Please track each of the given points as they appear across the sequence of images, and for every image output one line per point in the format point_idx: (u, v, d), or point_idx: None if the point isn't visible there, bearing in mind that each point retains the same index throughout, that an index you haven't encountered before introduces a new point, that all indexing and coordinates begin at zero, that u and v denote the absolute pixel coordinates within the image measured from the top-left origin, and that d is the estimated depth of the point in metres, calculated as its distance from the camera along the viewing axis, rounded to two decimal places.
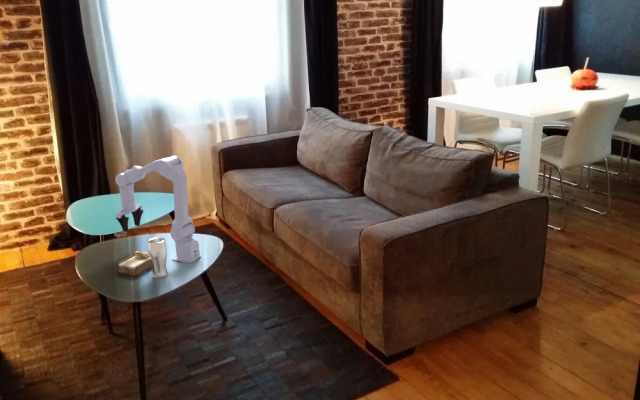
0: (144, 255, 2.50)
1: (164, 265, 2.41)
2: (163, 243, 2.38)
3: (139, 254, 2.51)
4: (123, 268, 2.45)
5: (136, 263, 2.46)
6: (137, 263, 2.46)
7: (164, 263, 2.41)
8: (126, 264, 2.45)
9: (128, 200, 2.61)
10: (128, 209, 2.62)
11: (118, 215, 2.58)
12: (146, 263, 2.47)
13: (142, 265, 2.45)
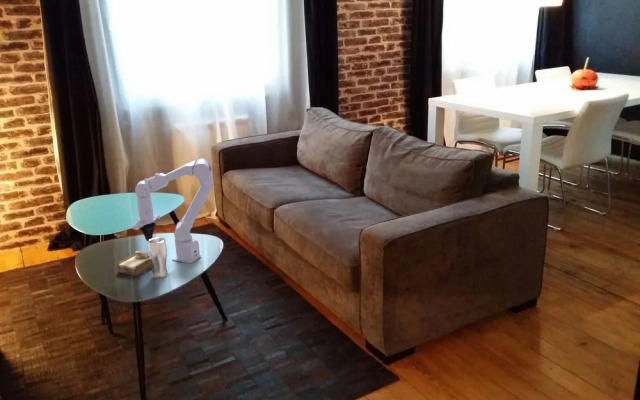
0: (144, 255, 2.50)
1: (164, 265, 2.41)
2: (163, 243, 2.38)
3: (139, 254, 2.51)
4: (123, 268, 2.45)
5: (136, 263, 2.46)
6: (137, 263, 2.46)
7: (164, 263, 2.41)
8: (126, 264, 2.45)
9: (146, 211, 2.48)
10: (146, 220, 2.49)
11: (136, 227, 2.46)
12: (146, 263, 2.47)
13: (142, 265, 2.45)
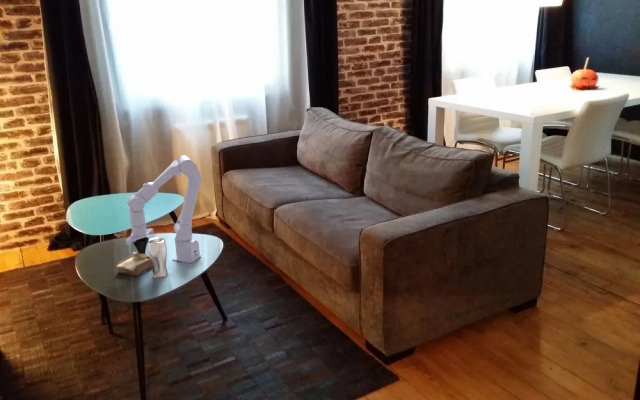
0: (142, 256, 2.49)
1: (164, 265, 2.41)
2: (163, 243, 2.38)
3: (137, 255, 2.50)
4: None
5: (134, 264, 2.45)
6: (135, 264, 2.45)
7: (164, 263, 2.41)
8: (124, 265, 2.44)
9: (139, 225, 2.45)
10: (139, 235, 2.46)
11: (128, 242, 2.43)
12: (146, 263, 2.47)
13: (142, 265, 2.45)
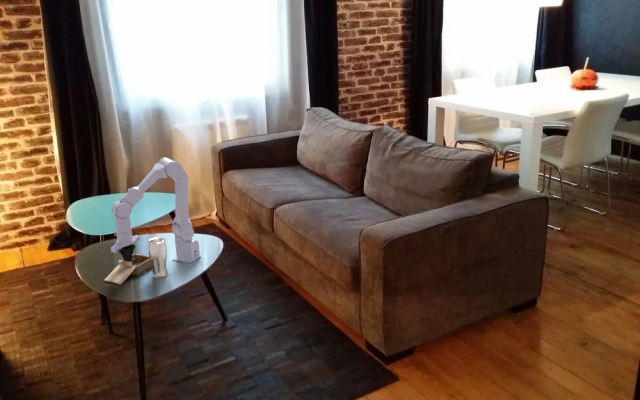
0: (128, 265, 2.42)
1: (164, 265, 2.41)
2: (163, 243, 2.38)
3: (123, 263, 2.43)
4: None
5: (121, 275, 2.39)
6: (122, 276, 2.39)
7: (164, 263, 2.41)
8: (111, 279, 2.38)
9: (124, 232, 2.38)
10: (124, 242, 2.39)
11: (113, 249, 2.35)
12: (146, 263, 2.47)
13: (142, 265, 2.45)
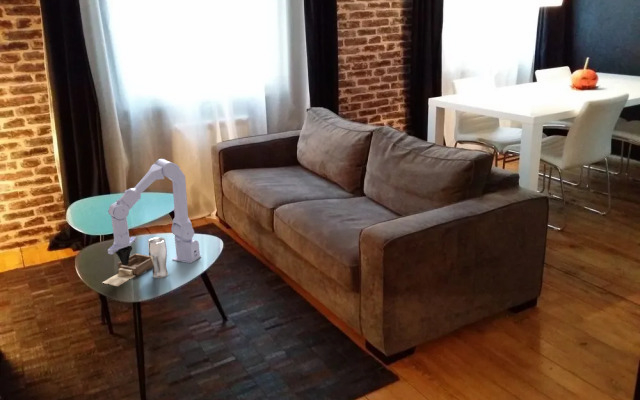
0: (128, 272, 2.42)
1: (164, 265, 2.41)
2: (163, 243, 2.38)
3: (123, 271, 2.43)
4: (123, 268, 2.45)
5: (120, 281, 2.39)
6: (121, 281, 2.38)
7: (164, 263, 2.41)
8: (109, 282, 2.37)
9: (121, 234, 2.36)
10: (121, 244, 2.37)
11: (110, 251, 2.34)
12: (146, 263, 2.47)
13: (142, 265, 2.45)
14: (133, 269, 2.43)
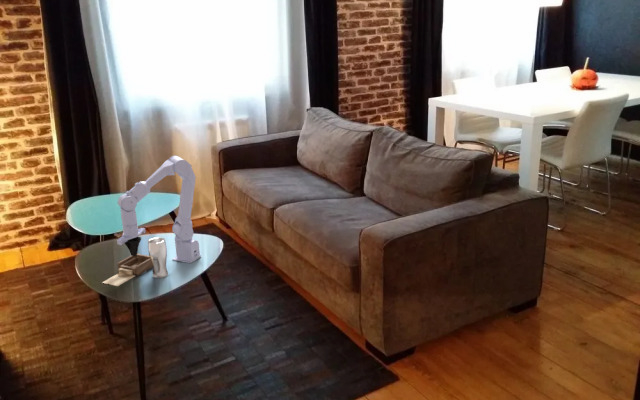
0: (128, 272, 2.42)
1: (164, 265, 2.41)
2: (163, 243, 2.38)
3: (123, 271, 2.43)
4: (123, 268, 2.45)
5: (120, 281, 2.39)
6: (121, 281, 2.38)
7: (164, 263, 2.41)
8: (109, 282, 2.37)
9: (130, 225, 2.40)
10: (130, 235, 2.41)
11: (119, 242, 2.38)
12: (146, 263, 2.47)
13: (142, 265, 2.45)
14: (133, 269, 2.43)
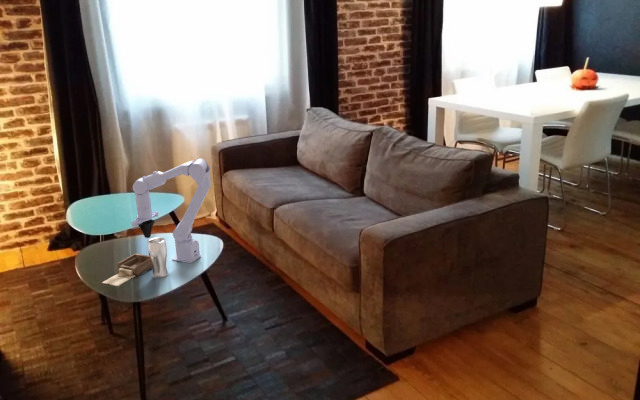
0: (128, 273, 2.42)
1: (164, 265, 2.41)
2: (163, 243, 2.38)
3: (123, 271, 2.43)
4: (123, 268, 2.45)
5: (120, 281, 2.39)
6: (121, 281, 2.38)
7: (164, 263, 2.41)
8: (109, 282, 2.37)
9: (144, 208, 2.50)
10: (144, 217, 2.51)
11: (134, 224, 2.48)
12: (146, 263, 2.47)
13: (142, 265, 2.45)
14: (133, 269, 2.43)
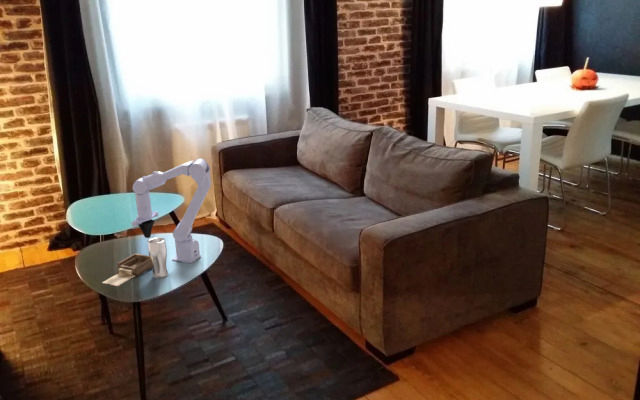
0: (128, 272, 2.42)
1: (164, 265, 2.41)
2: (163, 243, 2.38)
3: (123, 271, 2.43)
4: (123, 268, 2.45)
5: (120, 281, 2.39)
6: (121, 281, 2.38)
7: (164, 263, 2.41)
8: (109, 282, 2.37)
9: (144, 208, 2.50)
10: (144, 217, 2.51)
11: (134, 224, 2.48)
12: (146, 263, 2.47)
13: (142, 265, 2.45)
14: (133, 269, 2.43)
